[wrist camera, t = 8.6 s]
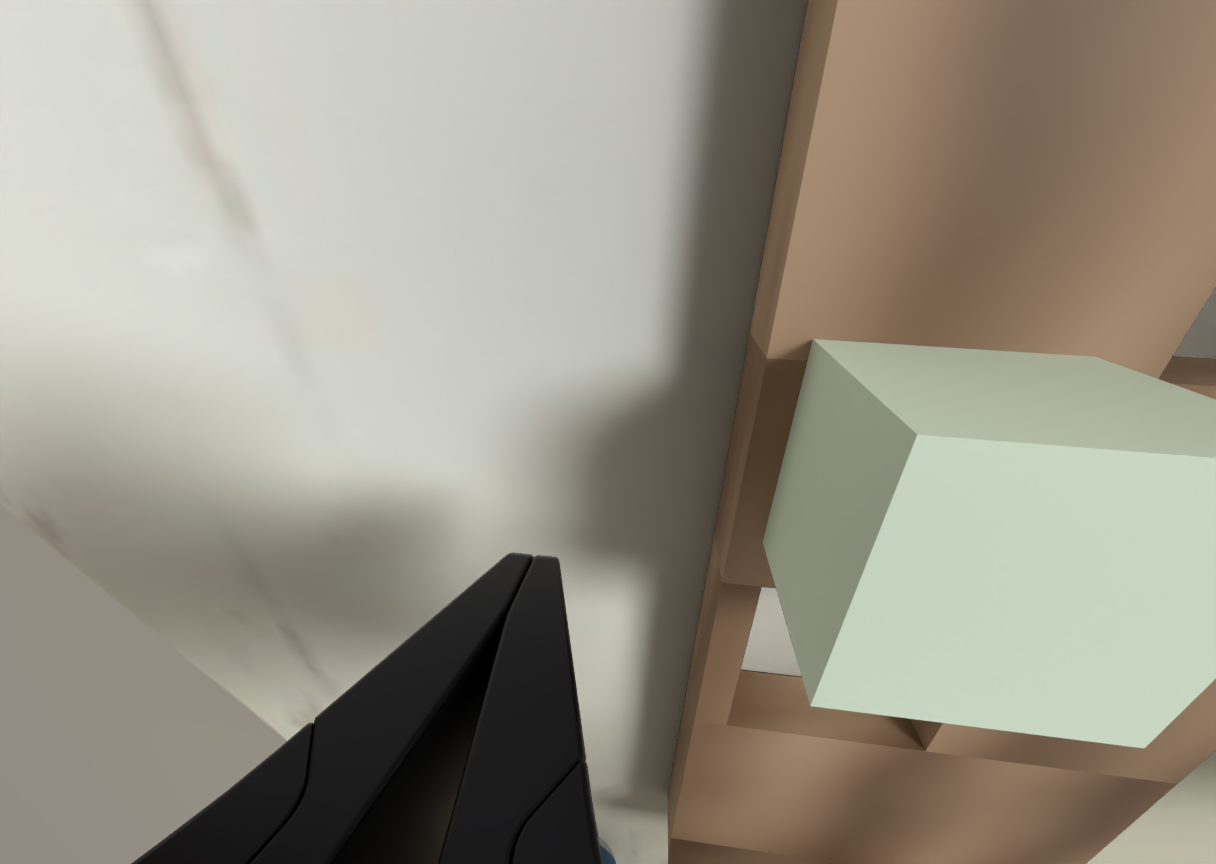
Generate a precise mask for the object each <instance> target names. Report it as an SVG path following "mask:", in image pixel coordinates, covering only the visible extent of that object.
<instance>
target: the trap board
mask: <svg viewBox="0 0 1216 864" xmlns="http://www.w3.org/2000/svg"><path fill="white" fill-rule="evenodd" d="M1215 287H1216V0H808V4H807V9H806V15H805V21H804V26H803V32H802V38H801V43H800V49H799V55H798V60H797V66H796V72H795V77H794V83H793V89H792V94H791V100H790V106H789V111H788V117H787V123H786V128H785V134H784V140H783V145H782V151H781V157H780V162H779V168H778V174H777V179H776V185H775V191H774V196H773V202H772V208H771V213H770V219H769V225H768V231H767V236H766V242H765V248H764V253H763V259H762V265H761V270H760V276H759V282H758V287H757V293H756V299H755V304H754V310H753V316H752V321H751V327H750V333H749V338H748V344H747V350H746V355H745V361H744V367H743V372H742V378H741V384H740V389H739V395H738V401H737V406H736V412H735V418H734V423H733V429H732V435H731V440H730V446H729V452H728V457H727V463H726V469H725V474H724V480H723V486H722V491H721V497H720V503H719V508H718V514H717V520H716V525H715V531H714V537H713V542H712V548H711V554H710V560H709V565H708V571H707V577H706V582H705V588H704V594H703V599H702V605H701V611H700V616H699V622H698V628H697V633H696V639H695V645H694V650H693V656H692V662H691V667H690V673H689V679H688V684H687V690H686V696H685V701H684V707H683V713H682V718H681V724H680V730H679V735H678V741H677V747H676V752H675V758H674V764H673V769H672V775H671V781H670V786H669V792H668V864H1086V863H1087V862H1088V861H1090V860H1091V859H1092V858H1093V857H1094V856H1095V855H1096V854H1098V853H1099V852H1100V851H1101V850H1102V849H1103V848H1104V847H1106V846H1107V845H1108V844H1109V843H1110V842H1111V841H1112V840H1114V839H1115V838H1116V837H1117V836H1118V835H1119V834H1120V833H1122V832H1123V831H1124V830H1125V829H1126V828H1127V827H1128V826H1130V825H1131V824H1132V823H1133V822H1134V821H1135V820H1136V819H1138V818H1139V817H1140V816H1141V815H1142V814H1143V813H1144V812H1146V811H1147V810H1148V809H1149V808H1150V807H1151V806H1152V805H1154V804H1155V803H1156V802H1157V801H1158V800H1159V799H1160V798H1162V797H1163V796H1164V795H1165V794H1166V793H1167V792H1168V791H1170V790H1171V789H1172V788H1173V787H1174V786H1175V785H1176V784H1178V783H1179V782H1180V781H1181V780H1182V779H1183V778H1184V777H1186V776H1187V775H1188V774H1189V773H1190V772H1191V771H1192V770H1194V769H1195V768H1196V767H1197V766H1198V765H1199V764H1200V763H1202V762H1203V761H1204V760H1205V759H1206V758H1207V757H1209V756H1210V755H1211V754H1212V753H1213V752H1214V751H1215V750H1216V679H1215V680H1214V681H1213V682H1212V683H1211V684H1210V685H1209V686H1208V687H1207V688H1206V689H1205V690H1204V691H1203V692H1202V693H1201V694H1200V695H1199V696H1198V697H1196V698H1195V699H1194V700H1193V701H1192V702H1191V703H1190V704H1189V705H1188V706H1187V707H1186V708H1185V709H1184V710H1183V711H1182V712H1181V713H1180V714H1179V715H1178V716H1177V717H1176V718H1175V719H1174V720H1173V721H1172V722H1171V723H1170V724H1169V725H1168V726H1167V727H1166V728H1165V729H1164V730H1163V731H1162V732H1161V733H1160V734H1159V735H1158V736H1157V737H1156V738H1155V739H1154V740H1153V741H1152V742H1150V743H1149V744H1148V745H1147V746H1146V747H1145V748H1136V747H1129V746H1121V745H1113V744H1105V743H1097V742H1089V741H1081V740H1073V739H1066V738H1058V737H1050V736H1042V735H1034V734H1026V733H1018V732H1011V731H1003V730H995V729H987V728H979V727H971V726H963V725H955V724H948V723H940V722H932V721H924V720H916V719H908V718H900V717H892V716H885V715H877V714H869V713H861V712H853V711H845V710H837V709H829V708H822V707H814V706H810V703H809V700H808V696H807V693H806V689H805V686H804V683H803V679H802V677H794V676H785V675H777V674H769V673H760V672H752V671H743V670H741V666H742V662H743V658H744V654H745V650H746V646H747V642H748V638H749V634H750V630H751V627H752V623H753V619H754V615H755V611H756V607H757V603H758V599H759V595H760V591H761V587H769V588H776V586H775V583H774V580H773V576H772V573H771V569H770V566H769V562H768V559H767V555H766V552H765V549H764V545H763V539H764V535H765V531H766V527H767V523H768V519H769V515H770V511H771V507H772V503H773V499H774V494H775V490H776V486H777V482H778V478H779V474H780V470H781V466H782V462H783V458H784V454H785V450H786V446H787V442H788V438H789V434H790V430H791V426H792V422H793V418H794V414H795V410H796V406H797V402H798V398H799V393H800V389H801V385H802V381H803V377H804V373H805V369H806V365H807V361H808V357H809V353H810V349H811V345H812V341H813V339H820V340H836V341H852V342H868V343H884V344H900V345H916V346H932V347H948V348H963V349H979V350H995V351H1011V352H1027V353H1043V354H1059V355H1075V356H1091V357H1098V358H1101V359H1104V360H1106V361H1109V362H1112V363H1115V364H1118V365H1120V366H1123V367H1126V368H1129V369H1132V370H1134V371H1137V372H1140V373H1143V374H1146V375H1148V376H1151V377H1154V378H1157V379H1160V380H1162V381H1165V382H1168V383H1171V384H1174V385H1176V386H1179V387H1182V388H1185V389H1188V390H1190V391H1193V392H1196V393H1199V394H1202V395H1204V396H1207V397H1210V398H1213V399H1216V359H1202V358H1184V357H1172V356H1173V354H1174V353H1175V351H1176V350H1177V348H1178V346H1179V345H1180V343H1181V342H1182V340H1183V338H1184V337H1185V335H1186V334H1187V332H1188V330H1189V329H1190V327H1191V326H1192V324H1193V322H1194V321H1195V319H1196V318H1197V316H1198V314H1199V313H1200V311H1201V310H1202V308H1203V306H1204V305H1205V303H1206V302H1207V300H1208V298H1209V297H1210V295H1211V294H1212V292H1213V290H1214V289H1215Z"/></svg>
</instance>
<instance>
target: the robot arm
mask: <svg viewBox="0 0 1216 864" xmlns="http://www.w3.org/2000/svg"><path fill="white" fill-rule="evenodd" d="M132 864H603V861H602V856H601V851H600V845H599V839H598V833H597V827H596V821H595V815H594V809H593V803H592V797H591V789H590V782H589V775H588V767H587V764H586V755H585V747H584V740H583V733H582V725H581V718H580V710H579V703H578V696H577V688H576V681H575V673H574V666H573V659H572V651H571V644H570V636H569V629H568V622H567V614H566V607H565V599H564V592H563V585H562V577H561V570H560V563H559V559H558V558H557V557H551V556H541V555H537V556H535V557H533V556H532V555H530V554H522V553H509V554H507V555H506V556H505V557H504V558H502V559H501V560H500V561H499V562H498V563H497V564H495V565H494V566H493V567H492V568H491V569H490V570H488V571H487V572H486V573H485V574H484V575H482V576H481V577H480V578H479V579H478V580H477V581H475V582H474V583H473V584H472V585H471V586H470V587H468V588H467V589H466V590H465V591H464V592H462V593H461V594H460V595H459V596H458V597H457V598H455V599H454V600H453V601H452V602H451V603H450V604H448V605H447V606H446V607H445V608H444V609H443V610H441V611H440V612H439V613H438V614H437V615H435V616H434V617H433V618H432V619H431V620H430V621H428V622H427V623H426V624H425V625H424V626H423V627H421V628H420V629H419V630H418V631H417V632H415V633H414V634H413V635H412V636H411V637H410V638H408V639H407V640H406V641H405V642H404V643H403V644H401V645H400V646H399V647H398V648H397V649H395V650H394V651H393V652H392V653H391V654H390V655H388V656H387V657H386V658H385V659H384V660H383V661H381V662H380V663H379V664H378V665H377V666H376V667H374V668H373V669H372V670H371V671H370V672H368V673H367V674H366V675H365V676H364V677H363V678H361V679H360V680H359V681H358V682H357V683H356V684H354V685H353V686H352V687H351V688H350V689H348V690H347V691H346V692H345V693H344V694H343V695H341V696H340V697H339V698H338V699H337V700H336V701H334V702H333V703H332V704H331V705H330V706H328V707H327V708H326V709H325V710H324V711H323V712H321V713H320V714H319V715H318V716H317V717H316V718H315V721H314V723H308V724H307V725H306V726H305V727H303V728H302V729H301V730H300V731H299V732H298V733H296V734H295V735H294V736H293V737H292V738H291V739H289V740H288V741H287V742H286V743H285V744H283V745H282V746H281V747H280V748H279V749H278V750H276V751H275V752H274V753H273V754H271V755H270V756H269V757H268V758H267V759H265V760H264V761H263V762H262V763H260V764H259V765H258V766H257V767H256V768H254V769H253V770H252V771H251V772H250V773H248V774H247V775H246V776H245V777H243V778H242V779H241V780H240V781H239V782H238V783H236V784H235V785H234V786H232V787H231V788H230V789H229V790H228V791H226V792H225V793H224V794H223V795H221V796H220V797H218V798H217V799H216V800H215V801H213V802H212V803H211V804H210V805H208V806H207V807H206V808H204V809H203V810H202V811H200V812H199V813H198V814H196V815H195V816H194V817H193V818H191V819H190V820H189V821H188V822H186V823H185V824H183V825H182V826H181V827H179V828H178V829H177V830H176V831H174V832H173V833H172V834H170V835H169V836H168V837H166V838H165V839H164V840H163V841H161V842H160V843H159V844H157V845H156V846H155V847H153V848H152V849H151V850H149V851H148V852H147V853H145V854H144V855H142V856H141V857H140V858H138V859H137V860H136V861H134V862H133V863H132Z"/></svg>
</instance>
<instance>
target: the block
mask: <svg viewBox="0 0 1216 864" xmlns="http://www.w3.org/2000/svg"><path fill="white" fill-rule="evenodd" d="M763 545H764V549H765V552H766V555H767V559H768V562H769V566H770V569H771V573H772V576H773V580H774V583H775V586H776V590H777V593H778V597H779V600H780V604H781V607H782V610H783V614H784V617H785V621H786V624H787V628H788V631H789V634H790V638H791V641H792V645H793V648H794V652H795V655H796V659H797V662H798V665H799V669H800V672H801V676H802V679H803V683H804V686H805V689H806V693H807V696H808V700H809V703H810V706H814V707H822V708H829V709H837V710H845V711H853V712H861V713H869V714H877V715H885V716H892V717H900V718H908V719H916V720H924V721H932V722H940V723H948V724H955V725H963V726H971V727H979V728H987V729H995V730H1003V731H1011V732H1018V733H1026V734H1034V735H1042V736H1050V737H1058V738H1066V739H1073V740H1081V741H1089V742H1097V743H1105V744H1113V745H1121V746H1129V747H1136V748H1145V747H1146V746H1147V745H1148V744H1149V743H1150V742H1152V741H1153V740H1154V739H1155V738H1156V737H1157V736H1158V735H1159V734H1160V733H1161V732H1162V731H1163V730H1164V729H1165V728H1166V727H1167V726H1168V725H1169V724H1170V723H1171V722H1172V721H1173V720H1174V719H1175V718H1176V717H1177V716H1178V715H1179V714H1180V713H1181V712H1182V711H1183V710H1184V709H1185V708H1186V707H1187V706H1188V705H1189V704H1190V703H1191V702H1192V701H1193V700H1194V699H1195V698H1196V697H1198V696H1199V695H1200V694H1201V693H1202V692H1203V691H1204V690H1205V689H1206V688H1207V687H1208V686H1209V685H1210V684H1211V683H1212V682H1213V681H1214V680H1215V679H1216V399H1213V398H1210V397H1207V396H1204V395H1202V394H1199V393H1196V392H1193V391H1190V390H1188V389H1185V388H1182V387H1179V386H1176V385H1174V384H1171V383H1168V382H1165V381H1162V380H1160V379H1157V378H1154V377H1151V376H1148V375H1146V374H1143V373H1140V372H1137V371H1134V370H1132V369H1129V368H1126V367H1123V366H1120V365H1118V364H1115V363H1112V362H1109V361H1106V360H1104V359H1101V358H1098V357H1091V356H1075V355H1059V354H1043V353H1027V352H1011V351H995V350H979V349H963V348H948V347H932V346H916V345H900V344H884V343H868V342H852V341H836V340H820V339H813V341H812V345H811V349H810V353H809V357H808V361H807V365H806V369H805V373H804V377H803V381H802V385H801V389H800V393H799V398H798V402H797V406H796V410H795V414H794V418H793V422H792V426H791V430H790V434H789V438H788V442H787V446H786V450H785V454H784V458H783V462H782V466H781V470H780V474H779V478H778V482H777V486H776V490H775V494H774V499H773V503H772V507H771V511H770V515H769V519H768V523H767V527H766V531H765V535H764V539H763Z"/></svg>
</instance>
